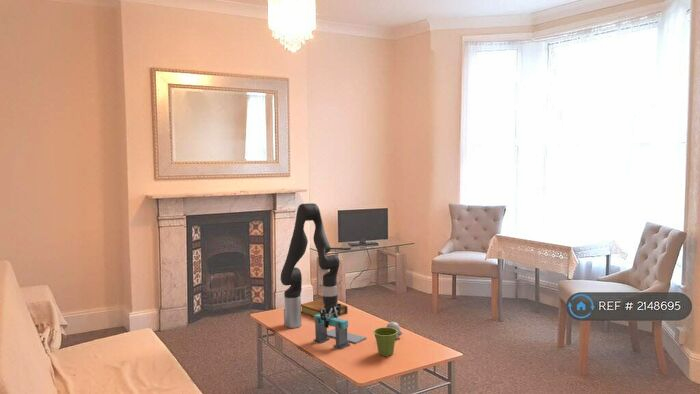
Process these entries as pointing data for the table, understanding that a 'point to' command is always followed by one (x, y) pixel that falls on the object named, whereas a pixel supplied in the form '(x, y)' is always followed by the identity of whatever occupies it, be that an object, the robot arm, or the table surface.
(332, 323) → the rail bar
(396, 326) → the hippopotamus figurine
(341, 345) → the bracket stand
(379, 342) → the plant pot
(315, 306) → the diary
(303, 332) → the table surface
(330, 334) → the rubber mat
